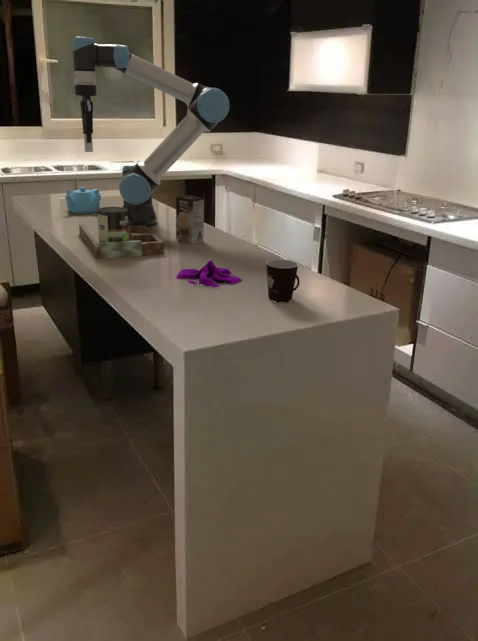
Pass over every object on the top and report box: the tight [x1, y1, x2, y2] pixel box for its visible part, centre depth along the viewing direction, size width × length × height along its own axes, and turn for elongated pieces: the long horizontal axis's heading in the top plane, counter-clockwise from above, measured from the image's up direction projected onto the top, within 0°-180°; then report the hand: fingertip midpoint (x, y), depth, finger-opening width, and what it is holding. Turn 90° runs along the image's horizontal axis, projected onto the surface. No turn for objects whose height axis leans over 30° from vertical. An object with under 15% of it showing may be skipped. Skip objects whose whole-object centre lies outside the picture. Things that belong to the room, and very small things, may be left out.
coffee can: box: [96, 206, 130, 245], centre depth 210 cm, size 10×10×14 cm
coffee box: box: [175, 194, 205, 245], centre depth 227 cm, size 9×6×16 cm
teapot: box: [64, 186, 102, 215], centre depth 271 cm, size 15×15×11 cm
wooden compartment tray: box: [78, 223, 165, 260], centre depth 220 cm, size 23×36×5 cm, turn 22°
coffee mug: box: [265, 258, 300, 303], centre depth 167 cm, size 12×9×10 cm
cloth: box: [176, 259, 243, 288], centre depth 184 cm, size 22×19×6 cm
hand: (88, 151), depth 231 cm, fingers closed
